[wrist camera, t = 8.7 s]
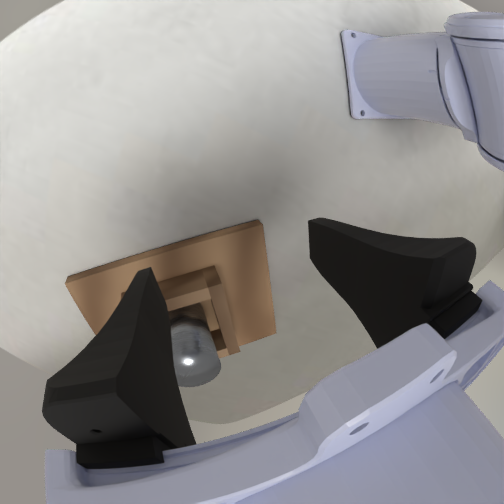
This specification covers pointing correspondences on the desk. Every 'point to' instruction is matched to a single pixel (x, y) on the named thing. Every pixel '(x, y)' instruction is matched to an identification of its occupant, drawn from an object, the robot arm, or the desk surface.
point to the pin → (193, 346)
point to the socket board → (194, 284)
